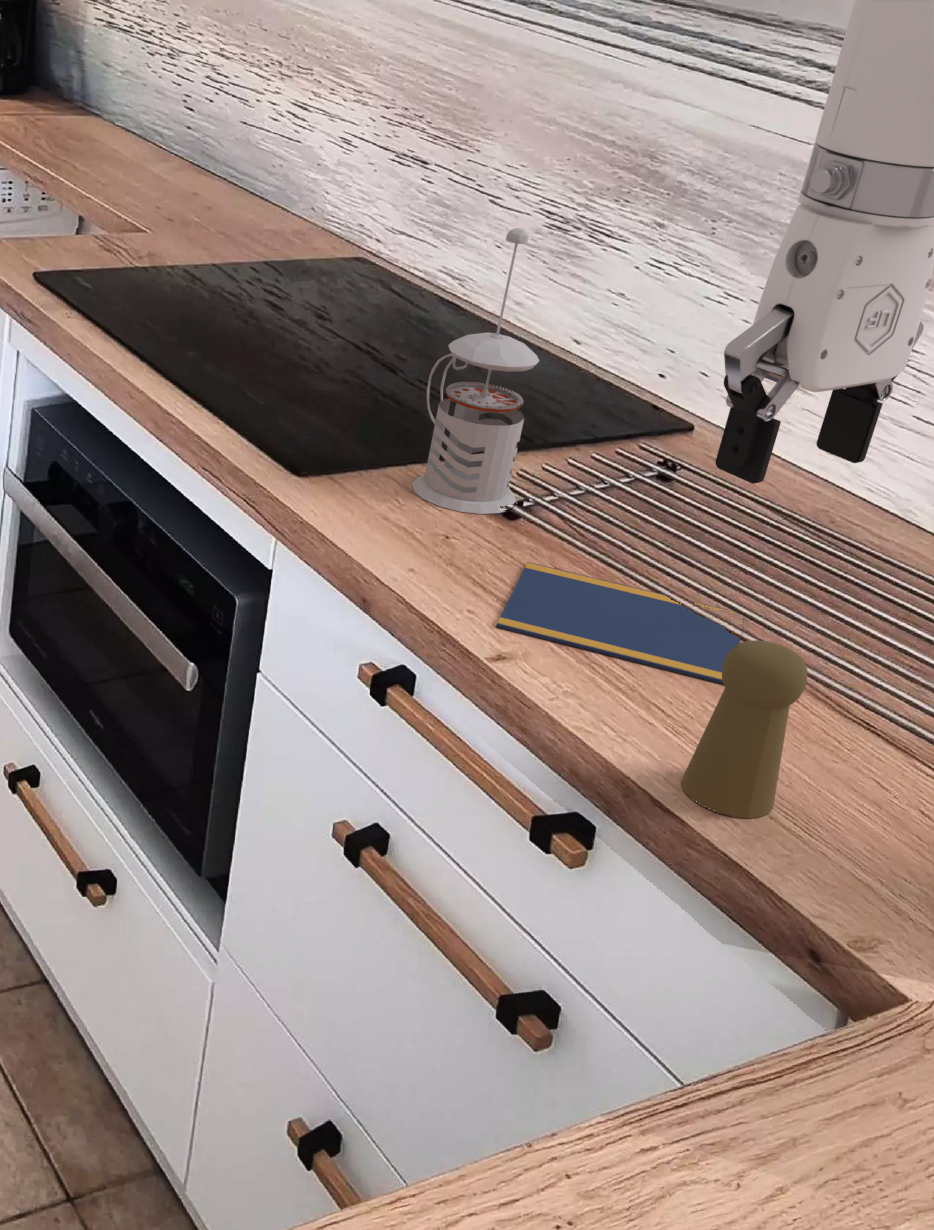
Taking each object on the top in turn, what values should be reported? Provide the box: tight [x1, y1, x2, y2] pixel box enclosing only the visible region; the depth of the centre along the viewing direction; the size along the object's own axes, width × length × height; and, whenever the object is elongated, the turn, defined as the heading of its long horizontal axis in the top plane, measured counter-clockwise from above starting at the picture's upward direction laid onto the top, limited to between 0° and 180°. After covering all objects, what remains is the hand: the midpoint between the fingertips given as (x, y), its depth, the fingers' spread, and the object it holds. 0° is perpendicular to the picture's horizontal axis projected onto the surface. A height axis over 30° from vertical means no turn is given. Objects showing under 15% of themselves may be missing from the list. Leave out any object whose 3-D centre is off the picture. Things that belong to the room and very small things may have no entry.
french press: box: [411, 227, 540, 515], centre depth 157 cm, size 10×12×25 cm
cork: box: [680, 639, 808, 819], centre depth 114 cm, size 6×6×11 cm
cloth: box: [495, 561, 741, 685], centre depth 139 cm, size 18×14×1 cm
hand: (789, 465), depth 106 cm, fingers open, 9 cm apart
